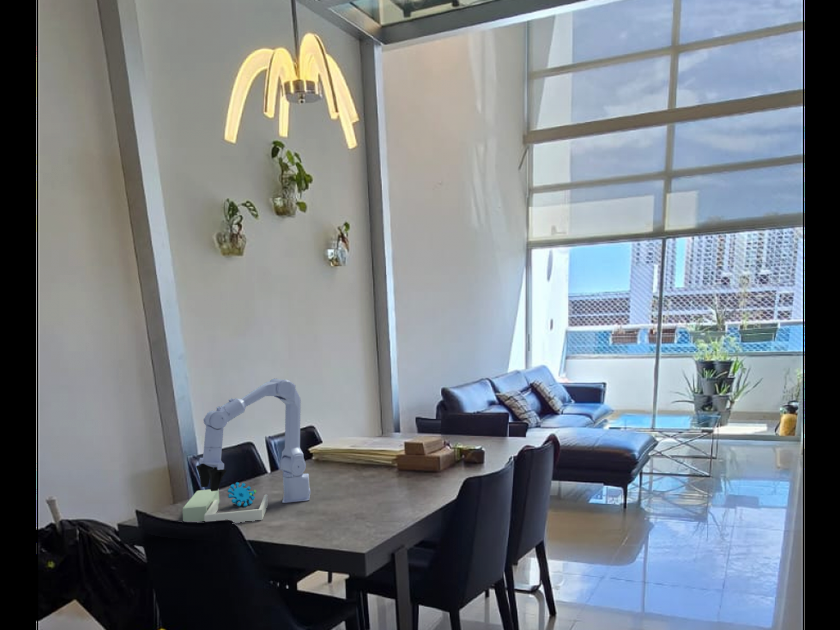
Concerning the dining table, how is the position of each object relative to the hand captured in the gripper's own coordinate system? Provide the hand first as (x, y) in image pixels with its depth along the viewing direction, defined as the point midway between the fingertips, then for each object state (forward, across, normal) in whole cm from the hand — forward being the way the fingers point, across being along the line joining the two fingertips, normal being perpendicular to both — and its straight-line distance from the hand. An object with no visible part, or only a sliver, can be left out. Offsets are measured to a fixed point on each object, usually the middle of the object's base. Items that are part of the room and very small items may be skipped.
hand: (209, 488), depth 195 cm
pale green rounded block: (+10, -11, +3) cm, 15 cm away
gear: (+8, -8, +17) cm, 20 cm away
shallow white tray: (+9, +2, +10) cm, 14 cm away
